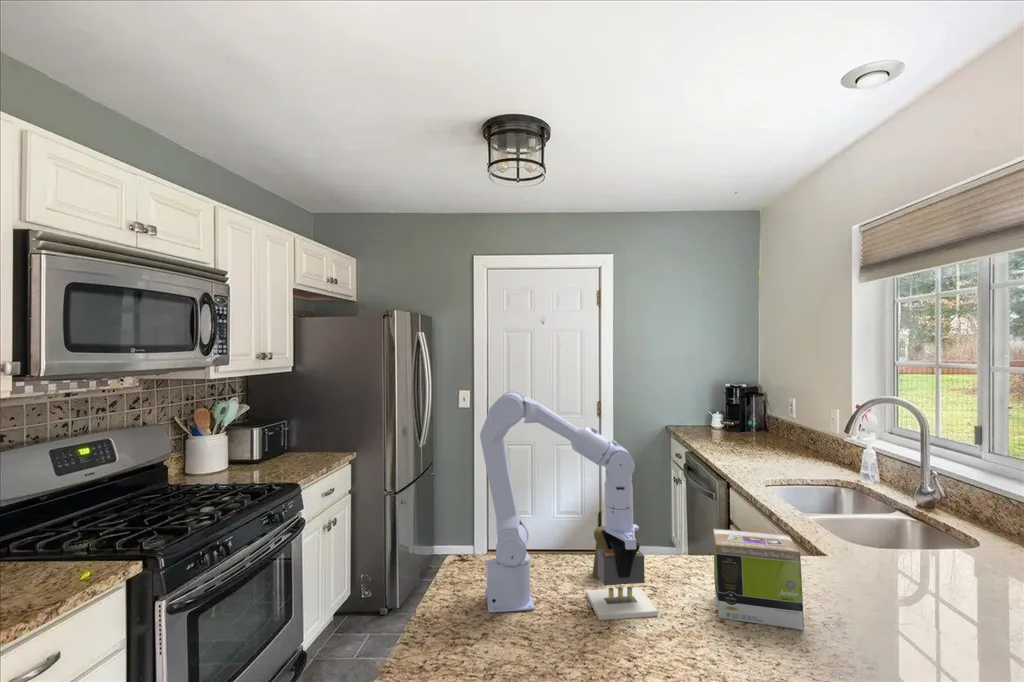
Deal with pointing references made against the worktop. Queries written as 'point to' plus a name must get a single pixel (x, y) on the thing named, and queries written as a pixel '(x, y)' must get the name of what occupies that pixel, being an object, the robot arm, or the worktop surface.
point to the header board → (621, 603)
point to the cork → (599, 545)
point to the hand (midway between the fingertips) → (620, 571)
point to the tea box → (758, 578)
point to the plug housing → (609, 569)
